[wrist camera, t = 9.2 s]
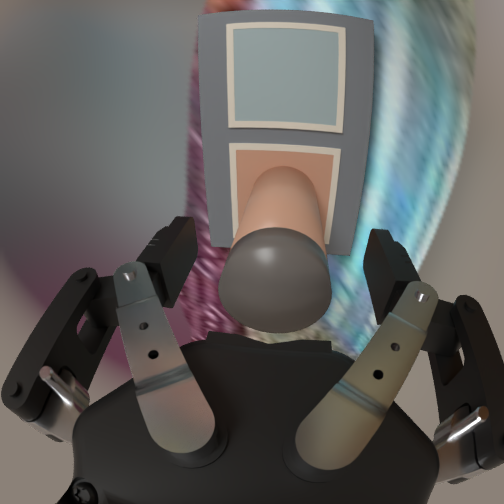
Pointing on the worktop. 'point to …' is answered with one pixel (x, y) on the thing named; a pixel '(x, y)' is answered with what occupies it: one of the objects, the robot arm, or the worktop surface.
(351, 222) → the picture board
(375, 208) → the worktop surface
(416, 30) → the worktop surface
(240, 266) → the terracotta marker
